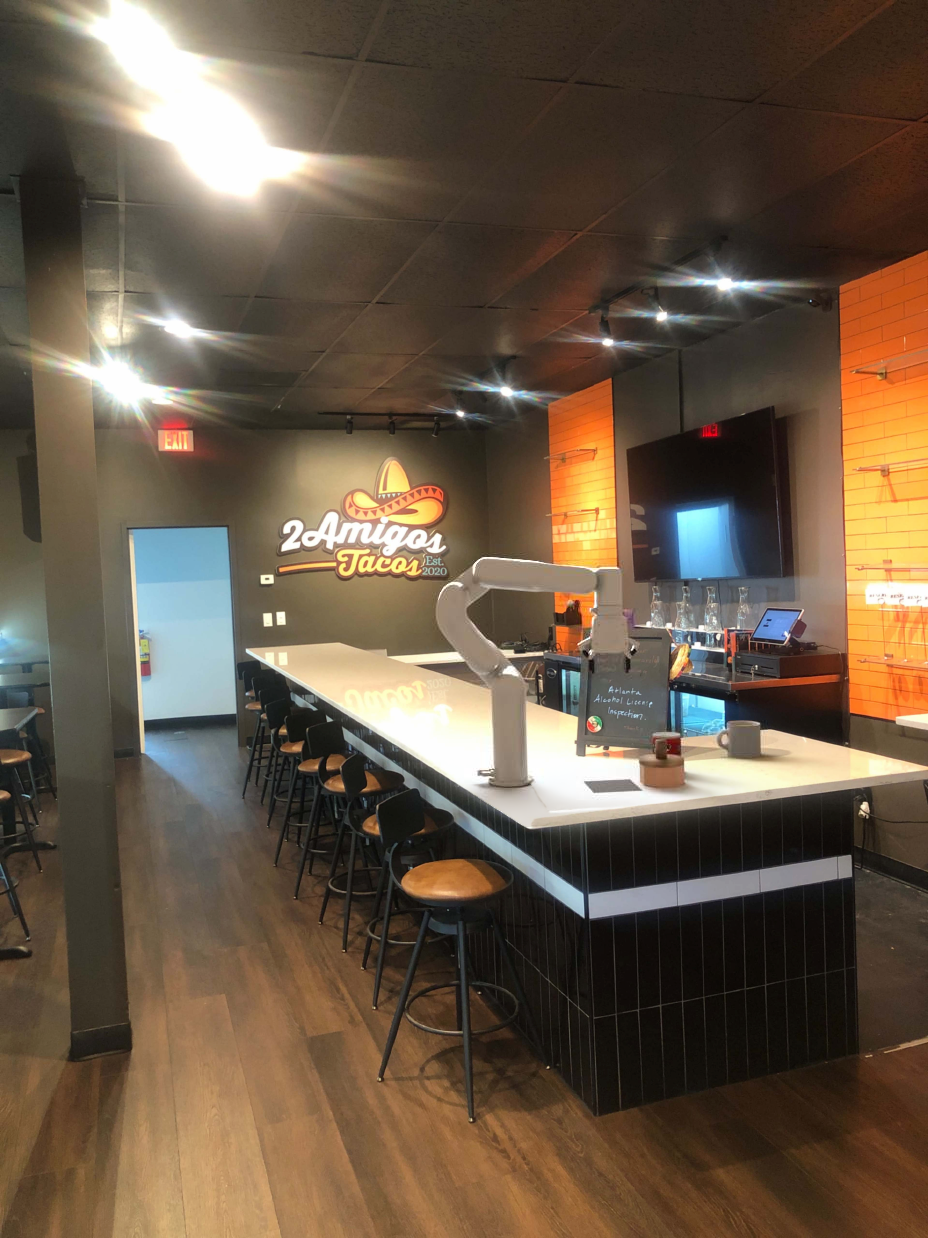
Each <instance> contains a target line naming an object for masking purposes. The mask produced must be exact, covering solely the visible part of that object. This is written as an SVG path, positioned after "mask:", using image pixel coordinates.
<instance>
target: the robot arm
mask: <svg viewBox="0 0 928 1238" xmlns="http://www.w3.org/2000/svg"><path fill="white" fill-rule="evenodd" d="M490 589H498V590H508V591H509V590H511V591H521V592H532V593H540V592H548V593H549V592H550V593H560V594H561V593H562V594H572V595H584V596H585V595H587V594H590V593H594V605H593V607H589V613H590V614H593V615H594V616H592V619H591V624H590V635H589V637H588V638H586V639H584V640H582V641H581V642H579V643H577V646H578V648H579V651H580V652H581V654H582V655H583V656H584V657H585V658H586V659H587V671H588V672H589V674H591V675H594V674H595V660H594V657H595V655H597V653H598V654H607V653H608V654H611V653H612V654H613V653H615V654H617V653H622V655H623V656H624V658H623V660H622V661H623V662H622V663H623V664H622V665H623V673H625V674H629V671H630V670H631V659H632V658H633V656H634V655H635V654H636V653H638V652H637V651H638V649H639V647H640V645H641V643H640V642H639V641H637V640H636V639H633V638H631V637H629V633H628V626H627V625H628V624H627V618H626V616H623V575H622V570H621V568H619V567H613V566H611V567H610V566H609V567H607V566H605V567H598V568H592V567H591V568H589V567H587V566H578V565H577V566H575V565H565V564H553V563H547V562H546V563H545V562H540V561H535V560H524V559H514V558H513V559H512V558H500V557H487V556H486V557H481V558H480V559H478V560H477V561H476V562H475V563H474V564H473V565H472V566H470V567H469V568H468V569H467V570H465V571H463V573H462V574H460V575H459V576H458V577H456V578H455V579H454V580H452V581H451V582H450V583H448V584H446V585H445V586H444V587H443V588H442V589H441V592H440V593H439V596H438V599H437V601H436V607H435V618H436V619H435V620H436V623H437V626H438V628H439V630H440V632H441V633H442V635H443V636H444V638H445V639H446V640H447V641H448V642H449V644H450V645H451V646H452V647H453V649H454V650H455V651H456V652H457V653H458V654H459V656H460V657H461V658H462V659H463V660H464V662H465V663H466V665H467V666H468V667H469V669H470V670H471V671H473V672H474V673H475V674H476V675H477V676H479V678H480V680H482V681H483V682H484V683H485V684H486V686H487V687H488V688H489V689H490V691H491V694H490V695H491V718H492V719H491V723H492V724H491V726H492V750H493V751H492V752H493V756H492V757H493V764H491V767H488V768H485V769H484V768H477V770H476V771H477V774H476V775H477V777H482V778H483V777H485V778H486V777H488V783H489V785H492V786H496V787H503V788H505V787H506V788H509V787H510V788H513V787H514V788H515V787H523V786H524V787H525V786H528V785H530V784H531V783H532V782H533V781H534V777H533V775H530V774H529V771H528V767H529V766H528V738H527V737H528V735H527V734H528V732H527V685H526V682H525V679H524V677H523V675H522V674H521V673H520V672H519V670H518V669H517V668H516V667H515V665H513V664H512V662H511V661H510V660H509V659H508V658H507V656H506V655H504V653H503V652H502V651H501V650H500V649H499V647H498V646H497V645H496V644H495V643H494V642H493V641H491V640H489V639H487V637H485V635H484V634H482V632H481V631H480V630H479V629H478V628H477V626H476V625H475V624H474V623H473V622H472V620H471V619H470V618H469V616H468V614H467V608H468V607H469V606H471V604H472V603H474V602H475V601H477V600H478V599H480V597H482V596H483V595H485V593H487V592H488V591H489V590H490ZM629 643H630V644H631V645H632V648H631V649H630V650H629V647H630V646H629ZM587 645H589V647H590V648H589V649H590V650H589V652H588V650H586V647H585V646H587Z"/></svg>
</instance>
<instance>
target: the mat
mask: <svg viewBox="0 0 928 1238" xmlns="http://www.w3.org/2000/svg"><path fill="white" fill-rule="evenodd" d="M583 783H584V784H585V785H586V786H587V787H588V788H589V789H590V790H591V792H592V793H594V794H595V793H598V794H600V793H601V794H602V793H617V792H620V793H621V792H623V793H624V792H639V791H640V792H642V791H643V789H642V788H640V787H639V785H638V784H636V782H634V781H632V780H631V778H629V779H625V778H624V779H607V780H602V779H601V780H584V781H583Z"/></svg>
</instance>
